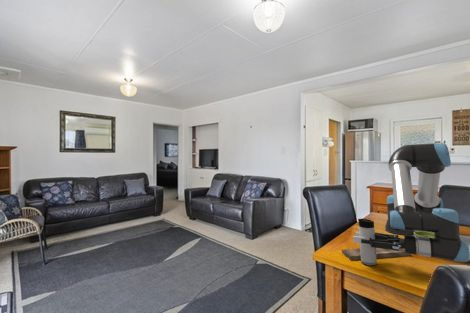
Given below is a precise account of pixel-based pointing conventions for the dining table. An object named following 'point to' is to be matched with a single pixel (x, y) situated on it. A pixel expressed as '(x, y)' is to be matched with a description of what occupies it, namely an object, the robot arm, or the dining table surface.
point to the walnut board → (380, 253)
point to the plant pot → (424, 234)
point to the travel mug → (366, 250)
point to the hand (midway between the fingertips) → (354, 236)
